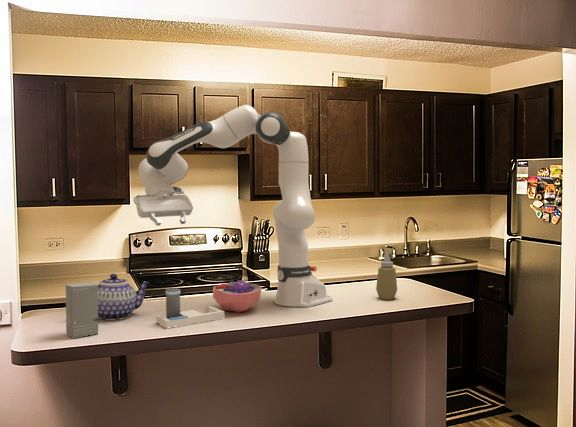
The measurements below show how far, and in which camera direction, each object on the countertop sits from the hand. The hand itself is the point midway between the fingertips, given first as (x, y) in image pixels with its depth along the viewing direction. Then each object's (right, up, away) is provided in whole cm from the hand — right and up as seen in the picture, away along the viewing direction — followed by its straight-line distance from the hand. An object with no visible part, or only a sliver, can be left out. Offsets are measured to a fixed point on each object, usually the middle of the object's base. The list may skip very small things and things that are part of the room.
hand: (171, 223), depth 210 cm
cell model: (+23, -31, +4) cm, 39 cm away
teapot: (-19, -32, -5) cm, 38 cm away
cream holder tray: (+8, -32, -10) cm, 35 cm away
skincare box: (-22, -34, -26) cm, 48 cm away
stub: (+3, -32, -14) cm, 35 cm away
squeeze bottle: (+80, -30, +20) cm, 87 cm away
